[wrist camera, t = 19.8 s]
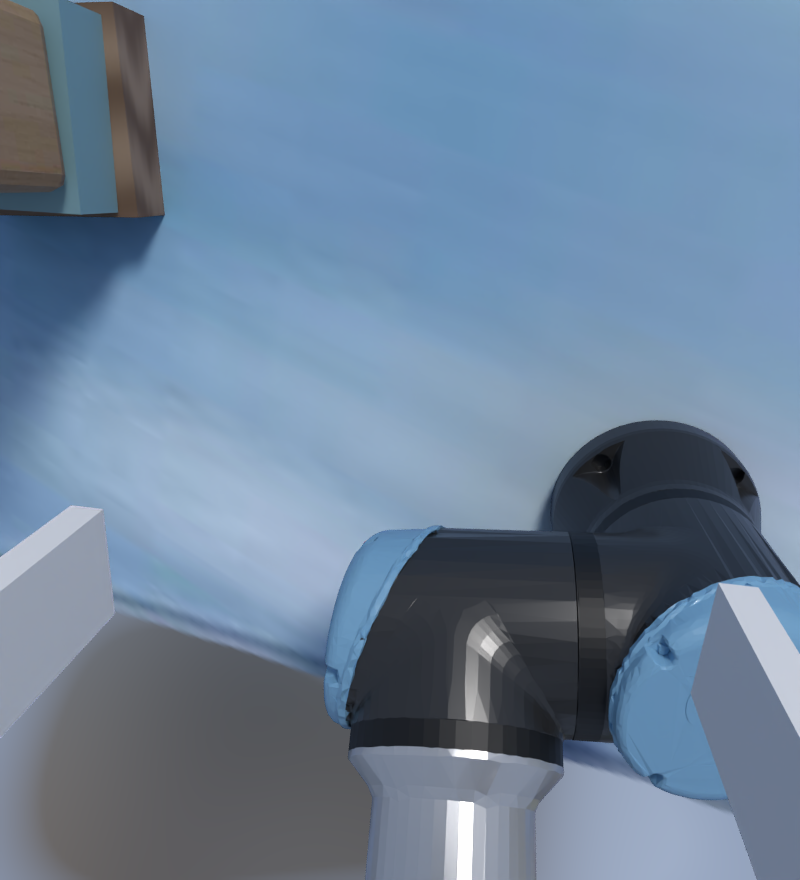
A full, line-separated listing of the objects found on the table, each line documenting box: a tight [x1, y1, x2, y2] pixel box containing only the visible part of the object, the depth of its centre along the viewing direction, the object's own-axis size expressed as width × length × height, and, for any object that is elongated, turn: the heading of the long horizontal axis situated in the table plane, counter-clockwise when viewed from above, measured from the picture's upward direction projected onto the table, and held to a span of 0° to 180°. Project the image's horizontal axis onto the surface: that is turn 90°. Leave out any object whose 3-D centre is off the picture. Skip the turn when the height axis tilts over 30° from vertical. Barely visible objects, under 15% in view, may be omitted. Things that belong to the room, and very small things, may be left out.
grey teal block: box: [0, 0, 118, 215], centre depth 45 cm, size 12×12×4 cm
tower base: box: [0, 2, 165, 217], centre depth 49 cm, size 13×13×4 cm
